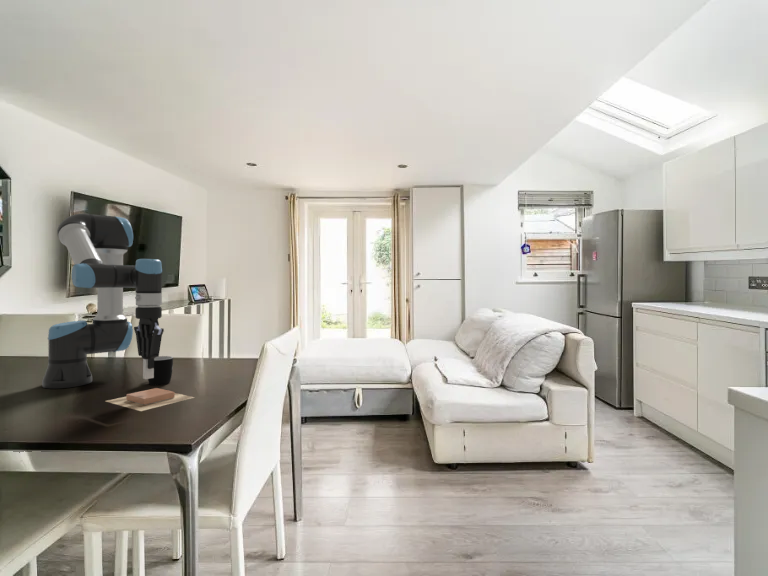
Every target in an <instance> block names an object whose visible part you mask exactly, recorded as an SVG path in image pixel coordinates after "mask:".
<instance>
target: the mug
mask: <svg viewBox="0 0 768 576" xmlns="http://www.w3.org/2000/svg"><path fill="white" fill-rule="evenodd" d="M173 368H174V357H173V356H169V355H162V356H160V355H159V356H158V357H155V358H154V378H150V379H147V381H148V383H149V384H148V385H150V386H164V385H168V384H170V383H171V379H172V376H173V375H172V374H173Z"/></svg>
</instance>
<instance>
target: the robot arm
mask: <svg viewBox="0 0 768 576" xmlns="http://www.w3.org/2000/svg"><path fill="white" fill-rule="evenodd" d="M56 234H57V238H58V240H59V242H60V243H61V244H62V246H63V245H64V246H65V247H66V249H67V251H68V253H69V255H70V257H71V259H72V261H73V264H74V265H73V266H72V267H71V281H72V284H73V286H74V287H76V288H84V289H94V288H95V289H96V288H97V300H96V301H97V305H96V306H97V313H96V315H95V316H94V317H93V318H92V323H88V322H87V321H86V320H73V321H66V322H60V323H56V324H53V325H52V326H50V327H49V328H48V333H47V334H48V337H47V340H48V344H47V345H48V347H47V349H48V356H47V357H48V358H47V359H48V362H47V363H48V364H47V368H46V370H45V373H44V375H43V378H42V381H41V382H42V383H41V384H42V385H41V386H42V388H43V389H65V388H66V389H67V388H75V387H76V388H77V387H79V386H85V385H88V384H91V383H92V382H93V375H92V374H93V373H92V372H91V370H90V367H89V365H88V362H87V361H88V357H87V356H88V355H93V354H94V355H95V354H102V353H103V354H104V353H105V354H106V353H116V352H120V351H122V352H123V351H125V350H127V349H128V348H129V347H130V345H131V342H132V341H133V333H135V339H136V340H135V341H136V346H137V354H138V356H139V357H141V358H142V379H143V380H148V379H150V378H154V358H155V357H158V356H160V350H161V343H162V338H163V334H164V332H165V330H164V328H161V327H160V323H159V319H161V318H162V317H163V316H162V315H163V314H162V310H163V307H162V305H163V294H162V293H163V291H162V290H163V289H162V288H163V268H162V266H163V265H162V261H161V260H160V259H154V258H139V259H136V261H135V265H129V264H127V265H126V264H125V265H124V255H125V254H126V253H127V252H128V248H130V247H132V246H133V243H134V242H133V241H134V232H133V228H132V225H131V222H130V221H129V220H128V219H127V218H125V217H120V216H115V215H114V216H113V215H103V214H91V213H84V212H83V213H82V212H80V213H75V214H71V215H70V216H67V217H66V218H64V219H63V220H62V221H61V222H60V223H59V225H58V227H57V231H56ZM124 288H126V289H127V288H128V289H130V288H132V289H133V288H135V297H134V298H135V305H136V307H135V318H136V319H138V320H139V321H138V325H137V326H134V327H133V324H132V322H130V321H128V317H127V316H125V314H124Z"/></svg>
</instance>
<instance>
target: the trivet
mask: <svg viewBox="0 0 768 576" xmlns="http://www.w3.org/2000/svg"><path fill="white" fill-rule="evenodd" d="M194 398H196V397H194V396H191V395H186V394H182V393H176V392H174V398H172V399H168V400H164V401H159V402H155V403H151V404H147V405H143V404H139V403H135V402H131V401H127V400H126V396H122V397H118V398H114V399H108V400H105V401H104V402H106V403H110V404H112V405H116V406H120V407H123V408H128V409H132V410H135V411H139V412H144V411H147V410H151V409H155V408H160V407H163V406H166V405H167V406H168V405H170V404H171V405H172V404H175V403H179V402H183V401H187V400H191V399H194Z"/></svg>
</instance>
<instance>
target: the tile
mask: <svg viewBox="0 0 768 576" xmlns="http://www.w3.org/2000/svg"><path fill="white" fill-rule="evenodd" d="M174 393H175V391H172V390H168V389H167V390H166V389H163V388H158V387H154V388H151V389H145V390H141V391H135V392H132V393H127V394H126V396H125V397H126V400H127V401H131V402H135V403H139V404H143V405H147V404H151V403H155V402H159V401H164V400H168V399H172V398H174Z"/></svg>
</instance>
